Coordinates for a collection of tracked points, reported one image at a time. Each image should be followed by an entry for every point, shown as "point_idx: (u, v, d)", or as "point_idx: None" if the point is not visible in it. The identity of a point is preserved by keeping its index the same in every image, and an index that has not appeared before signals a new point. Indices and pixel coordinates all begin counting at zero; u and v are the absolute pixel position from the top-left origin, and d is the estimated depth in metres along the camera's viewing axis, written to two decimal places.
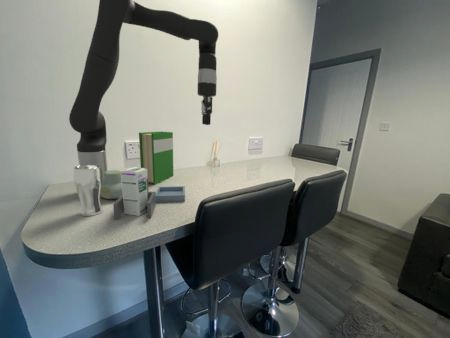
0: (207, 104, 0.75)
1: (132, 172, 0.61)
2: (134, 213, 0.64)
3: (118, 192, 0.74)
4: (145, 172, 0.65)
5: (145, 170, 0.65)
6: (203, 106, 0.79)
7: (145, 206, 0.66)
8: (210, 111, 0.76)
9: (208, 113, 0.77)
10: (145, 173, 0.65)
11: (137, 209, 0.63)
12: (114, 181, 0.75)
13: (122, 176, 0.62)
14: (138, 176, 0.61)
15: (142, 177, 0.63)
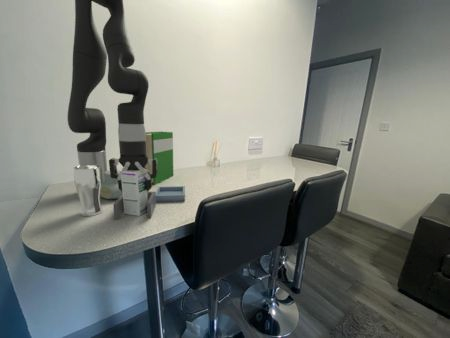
0: (156, 168, 0.64)
1: (132, 172, 0.61)
2: (134, 213, 0.64)
3: (118, 192, 0.74)
4: None
5: None
6: (144, 170, 0.63)
7: (145, 206, 0.66)
8: None
9: None
10: None
11: (137, 209, 0.63)
12: (114, 181, 0.75)
13: (122, 176, 0.62)
14: (138, 176, 0.61)
15: (142, 177, 0.63)
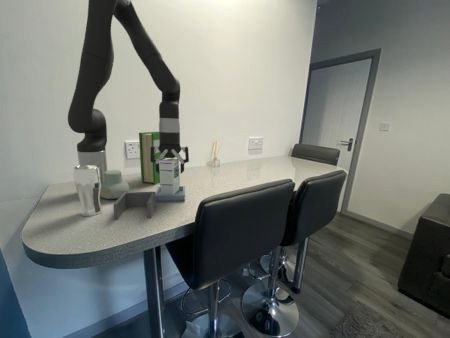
0: (188, 154, 0.78)
1: (169, 161, 0.75)
2: None
3: (118, 192, 0.74)
4: (178, 161, 0.79)
5: (177, 160, 0.79)
6: (179, 156, 0.76)
7: (177, 190, 0.80)
8: None
9: None
10: (177, 163, 0.79)
11: (172, 191, 0.77)
12: (114, 181, 0.75)
13: (160, 165, 0.76)
14: (173, 165, 0.76)
15: (176, 166, 0.78)
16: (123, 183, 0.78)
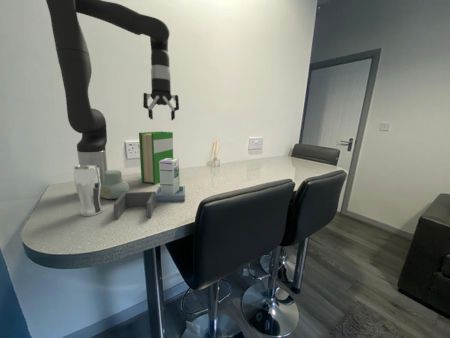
0: (178, 102, 0.85)
1: (169, 161, 0.75)
2: None
3: (118, 192, 0.74)
4: (178, 161, 0.79)
5: (177, 160, 0.79)
6: (169, 103, 0.84)
7: (177, 190, 0.80)
8: (178, 108, 0.87)
9: None
10: (177, 163, 0.79)
11: (172, 191, 0.77)
12: (114, 181, 0.75)
13: (160, 165, 0.76)
14: (173, 165, 0.76)
15: (176, 166, 0.78)
16: (123, 183, 0.78)
